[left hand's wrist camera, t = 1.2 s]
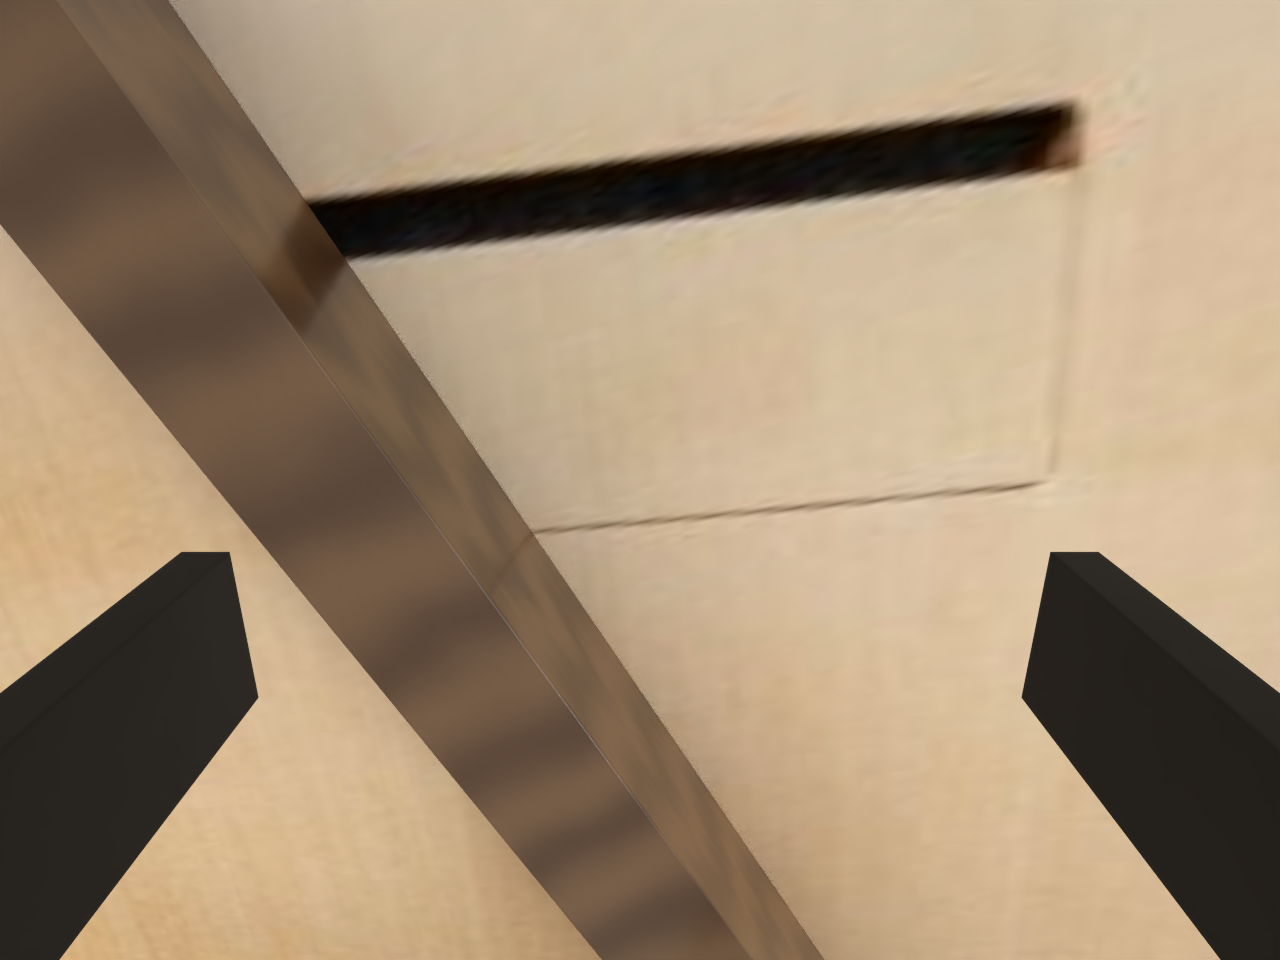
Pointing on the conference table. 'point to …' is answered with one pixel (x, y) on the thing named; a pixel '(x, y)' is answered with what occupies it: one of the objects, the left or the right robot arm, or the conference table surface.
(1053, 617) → the left robot arm
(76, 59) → the post
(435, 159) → the conference table surface
